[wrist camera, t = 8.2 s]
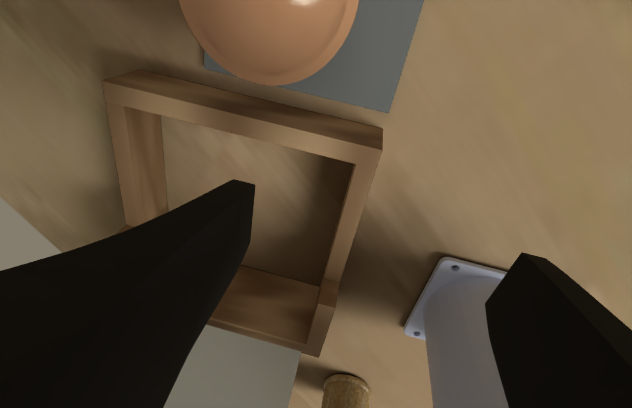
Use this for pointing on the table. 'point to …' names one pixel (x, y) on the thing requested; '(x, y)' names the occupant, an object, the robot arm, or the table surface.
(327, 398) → the sprinkles bottle
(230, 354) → the lid
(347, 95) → the mat
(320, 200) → the table surface
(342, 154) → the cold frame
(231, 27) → the pot
